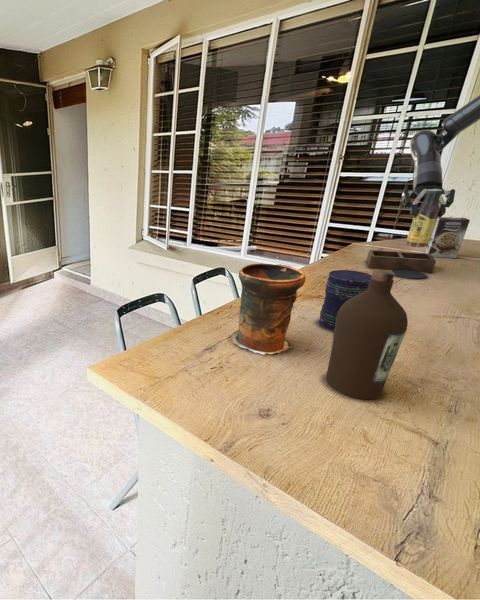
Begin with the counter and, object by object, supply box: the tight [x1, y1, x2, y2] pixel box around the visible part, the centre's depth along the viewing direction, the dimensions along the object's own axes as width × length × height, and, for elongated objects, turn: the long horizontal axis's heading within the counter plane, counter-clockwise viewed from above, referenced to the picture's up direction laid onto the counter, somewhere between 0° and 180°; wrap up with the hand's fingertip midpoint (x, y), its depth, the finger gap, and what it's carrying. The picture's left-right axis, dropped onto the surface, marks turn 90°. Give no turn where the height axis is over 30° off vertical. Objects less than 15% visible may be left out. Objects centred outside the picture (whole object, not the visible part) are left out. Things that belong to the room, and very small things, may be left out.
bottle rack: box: [366, 249, 437, 274], centre depth 140 cm, size 19×11×5 cm, turn 56°
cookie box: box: [425, 216, 471, 259], centre depth 148 cm, size 9×6×16 cm
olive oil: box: [325, 269, 409, 400], centre depth 68 cm, size 11×11×25 cm
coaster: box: [390, 270, 428, 280], centre depth 131 cm, size 10×10×1 cm
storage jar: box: [318, 269, 372, 333], centre depth 95 cm, size 10×10×15 cm
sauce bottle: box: [405, 189, 443, 248], centre depth 124 cm, size 6×6×20 cm
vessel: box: [231, 262, 307, 356], centre depth 88 cm, size 14×14×20 cm
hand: (427, 215), depth 122 cm, fingers closed on sauce bottle, 6 cm apart
